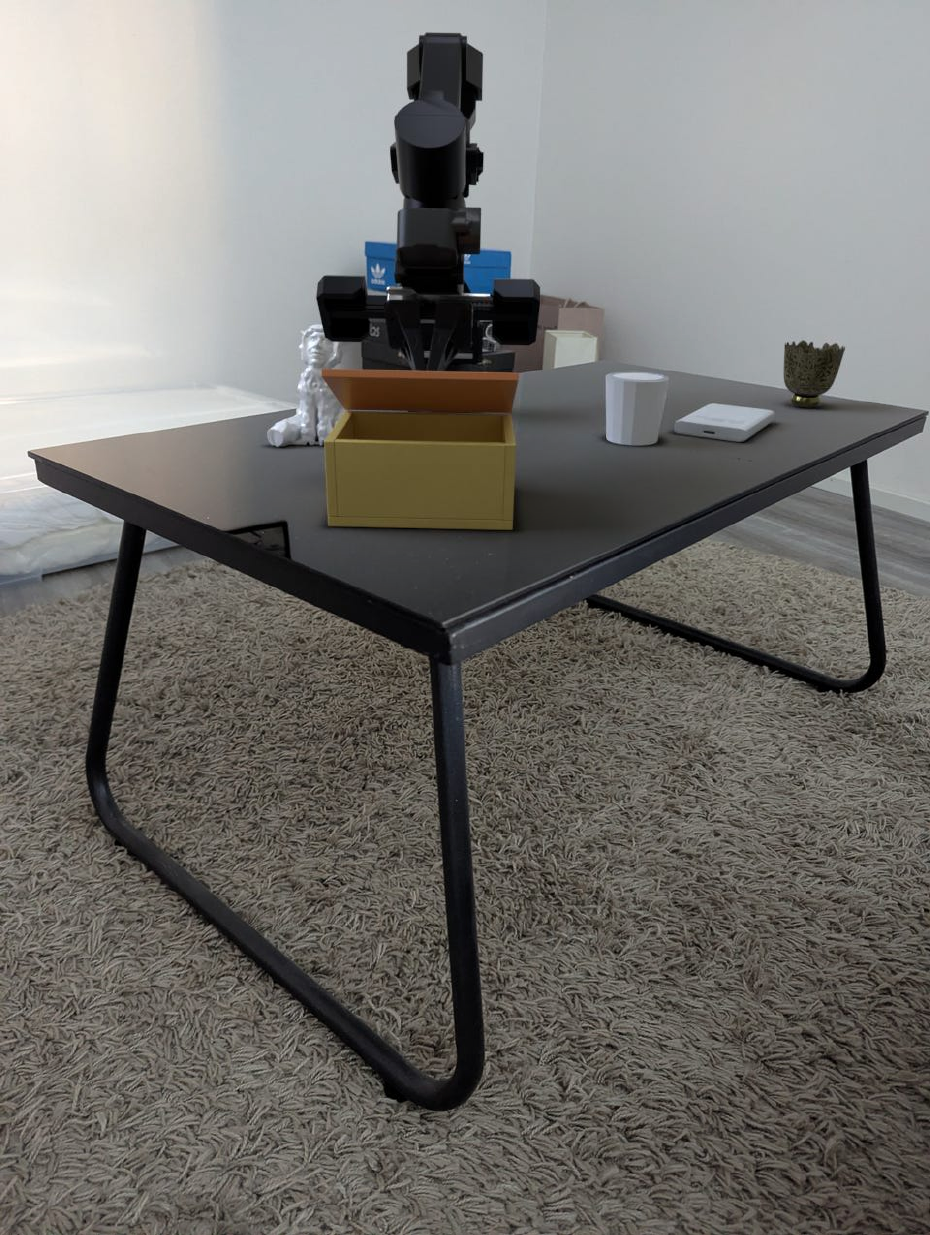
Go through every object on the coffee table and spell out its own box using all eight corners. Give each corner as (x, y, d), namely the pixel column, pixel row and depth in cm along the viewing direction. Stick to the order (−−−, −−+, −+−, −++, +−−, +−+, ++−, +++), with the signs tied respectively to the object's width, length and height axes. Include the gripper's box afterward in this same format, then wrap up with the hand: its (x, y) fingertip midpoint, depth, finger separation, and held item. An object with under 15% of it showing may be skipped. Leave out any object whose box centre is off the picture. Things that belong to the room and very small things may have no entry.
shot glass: (662, 448, 96) (670, 382, 94) (598, 444, 98) (603, 379, 95) (663, 434, 103) (669, 372, 100) (602, 431, 104) (607, 369, 101)
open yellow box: (512, 530, 71) (516, 445, 68) (327, 526, 71) (323, 441, 68) (508, 489, 81) (511, 413, 79) (347, 485, 81) (344, 410, 79)
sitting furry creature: (265, 447, 94) (256, 327, 89) (290, 429, 102) (283, 318, 97) (354, 451, 93) (350, 331, 88) (371, 433, 101) (369, 321, 96)
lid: (518, 380, 66) (518, 372, 66) (321, 376, 66) (321, 368, 66) (511, 413, 78) (511, 406, 78) (344, 409, 79) (344, 403, 79)
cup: (839, 405, 121) (851, 343, 118) (827, 414, 115) (839, 349, 112) (783, 398, 124) (793, 338, 121) (768, 407, 119) (778, 344, 115)
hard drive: (773, 423, 109) (744, 443, 100) (707, 415, 113) (673, 433, 103) (775, 410, 109) (746, 428, 99) (708, 402, 112) (674, 419, 103)
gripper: (313, 168, 72) (296, 326, 67) (544, 172, 72) (546, 330, 67) (332, 268, 83) (319, 411, 77) (534, 271, 83) (535, 416, 77)
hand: (425, 392), depth 74 cm, fingers closed, pressing on lid
